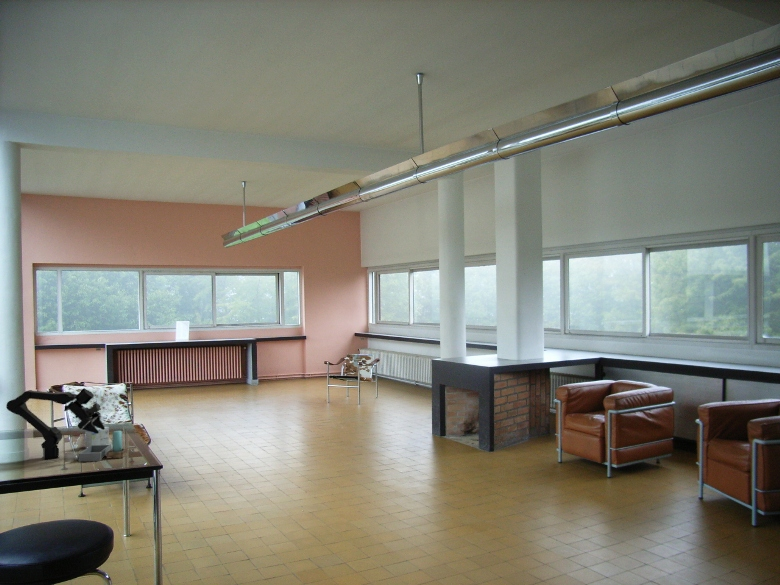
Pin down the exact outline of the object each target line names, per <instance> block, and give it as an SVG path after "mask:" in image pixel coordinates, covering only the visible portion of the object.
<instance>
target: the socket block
mask: <svg viewBox="0 0 780 585" xmlns="http://www.w3.org/2000/svg"><path fill="white" fill-rule="evenodd" d="M128 452H129V451H128V448H127V447H124V448H123V447H122V452H113V448H111V450H109V451H108V452H107V456H106V458H107V457H113V458H112V459H123V458H124V457H126V456H127V455H128Z"/></svg>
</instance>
